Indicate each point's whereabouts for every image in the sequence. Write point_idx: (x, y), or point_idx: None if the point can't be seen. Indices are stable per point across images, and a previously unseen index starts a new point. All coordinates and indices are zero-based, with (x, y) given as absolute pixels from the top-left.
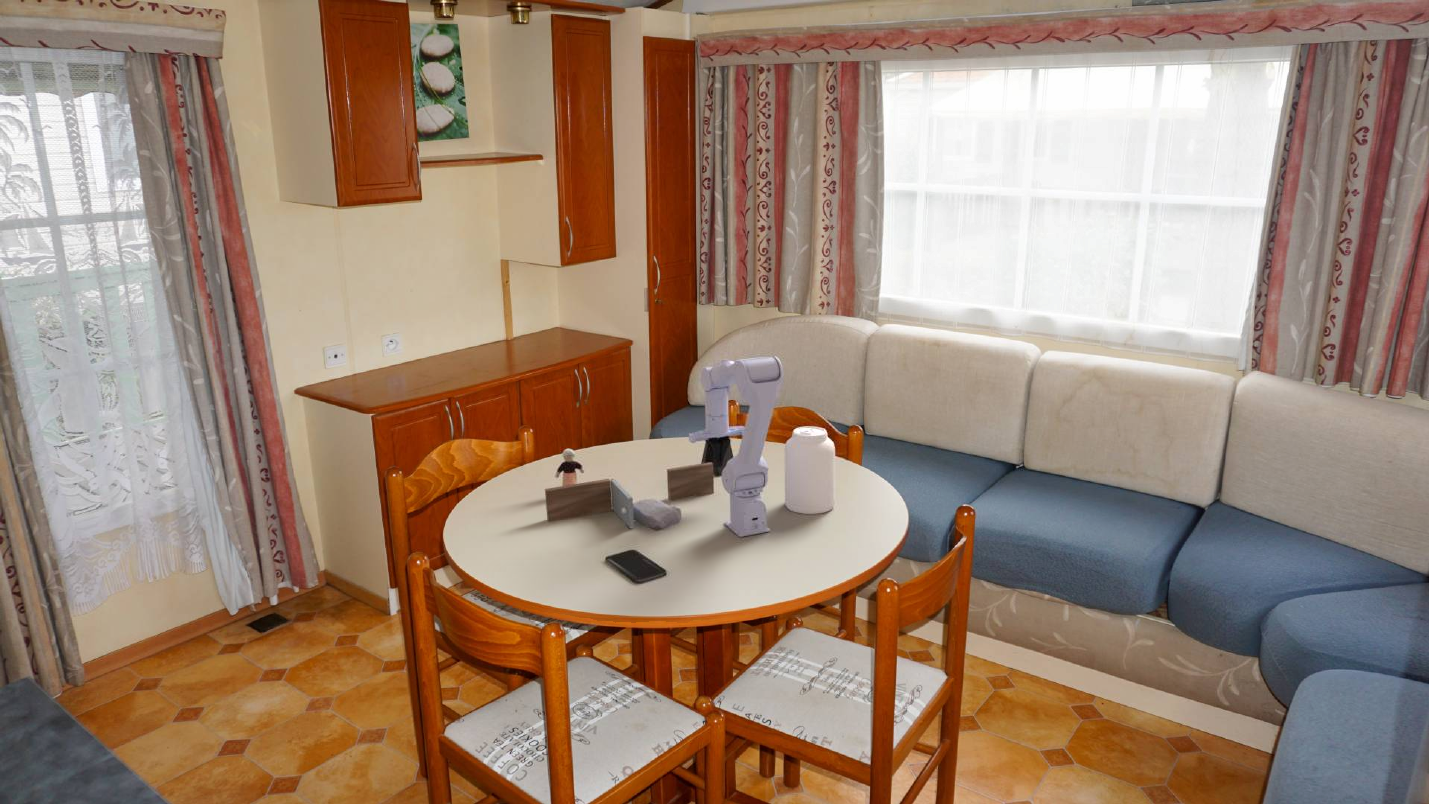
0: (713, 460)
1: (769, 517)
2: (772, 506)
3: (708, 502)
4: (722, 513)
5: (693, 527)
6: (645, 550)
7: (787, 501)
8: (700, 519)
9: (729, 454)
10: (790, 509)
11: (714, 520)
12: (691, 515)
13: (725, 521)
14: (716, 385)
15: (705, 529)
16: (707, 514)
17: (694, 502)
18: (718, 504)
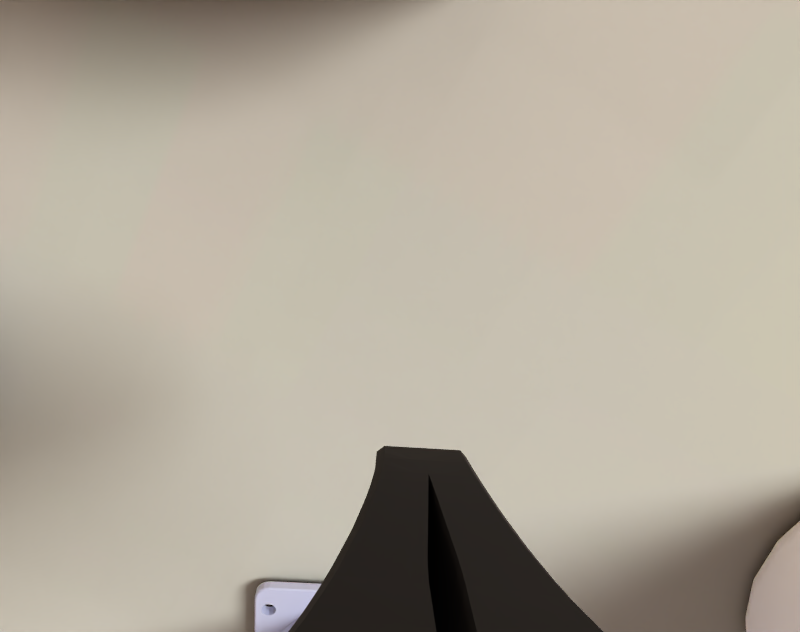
0: (372, 481)
1: None
2: (710, 488)
3: (338, 179)
4: (332, 433)
5: (43, 538)
6: None
7: (773, 628)
8: (136, 451)
9: None
10: (749, 606)
11: (224, 507)
12: (95, 358)
13: (266, 593)
14: None
15: (111, 593)
16: (221, 398)
17: (221, 109)
18: (393, 264)
